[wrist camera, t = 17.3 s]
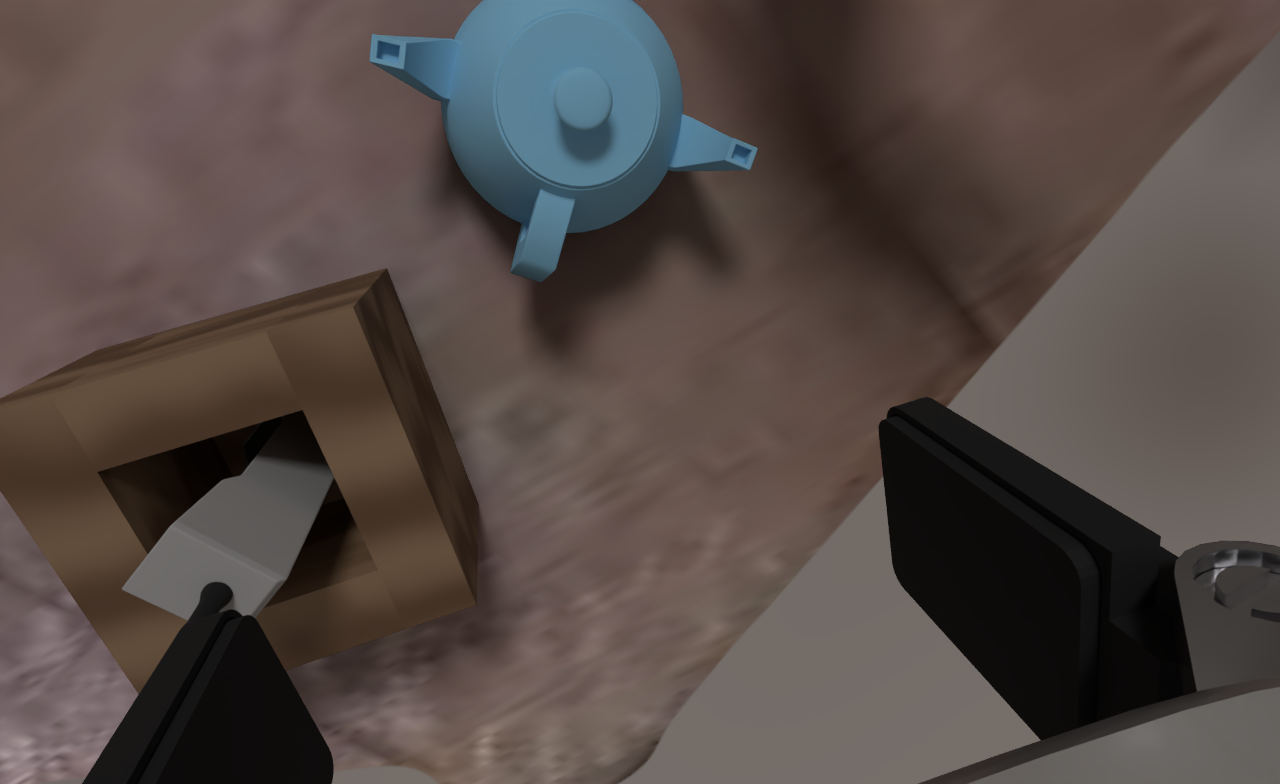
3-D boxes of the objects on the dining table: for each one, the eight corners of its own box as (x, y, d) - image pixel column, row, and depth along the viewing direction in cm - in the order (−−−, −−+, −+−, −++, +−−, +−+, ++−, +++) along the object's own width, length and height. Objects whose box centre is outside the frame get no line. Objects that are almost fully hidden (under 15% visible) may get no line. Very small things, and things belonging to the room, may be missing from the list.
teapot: (374, 54, 40) (336, 19, 30) (597, -84, 40) (635, -165, 30) (521, 281, 45) (531, 316, 35) (716, 160, 45) (781, 161, 35)
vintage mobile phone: (283, 392, 43) (51, 664, 20) (353, 436, 45) (215, 732, 22) (248, 437, 44) (-18, 754, 21) (319, 479, 45) (149, 813, 22)
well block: (96, 350, 41) (-47, 421, 30) (386, 268, 43) (352, 307, 32) (230, 585, 48) (153, 715, 36) (478, 504, 49) (476, 604, 38)
